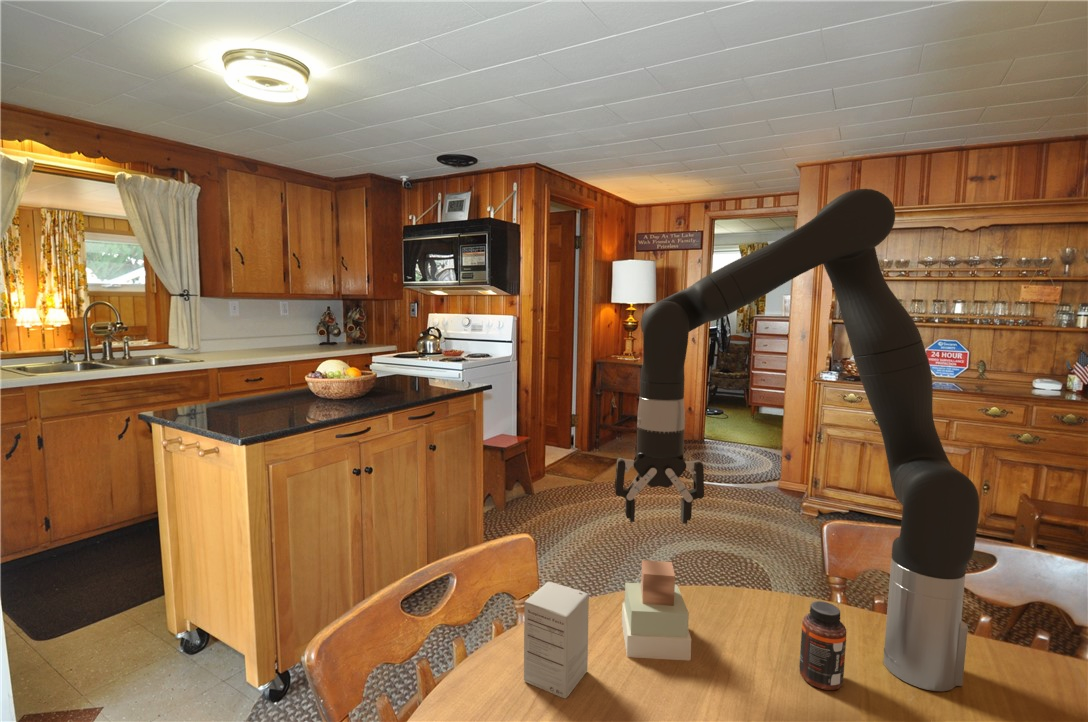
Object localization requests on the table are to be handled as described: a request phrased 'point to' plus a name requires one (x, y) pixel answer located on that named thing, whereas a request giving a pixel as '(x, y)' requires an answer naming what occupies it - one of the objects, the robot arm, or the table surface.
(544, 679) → the supplement box
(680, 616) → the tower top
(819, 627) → the supplement bottle
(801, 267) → the robot arm
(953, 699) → the table surface
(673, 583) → the terracotta cube
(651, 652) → the tower base
